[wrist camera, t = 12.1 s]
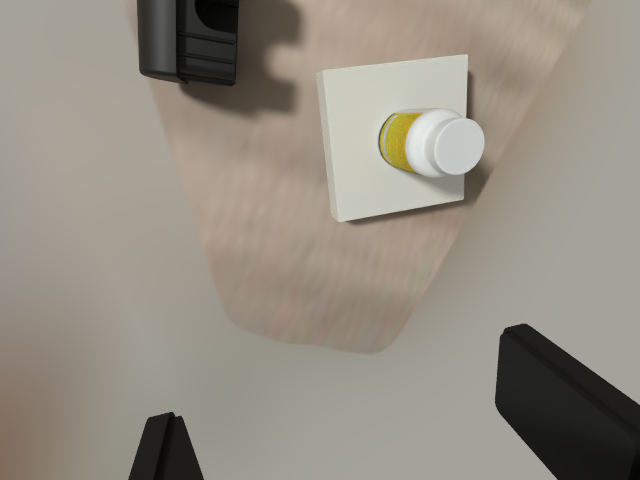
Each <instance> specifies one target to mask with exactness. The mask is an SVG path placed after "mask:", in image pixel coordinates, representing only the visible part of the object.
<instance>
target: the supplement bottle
mask: <svg viewBox="0 0 640 480" xmlns="http://www.w3.org/2000/svg"><path fill="white" fill-rule="evenodd" d="M484 144H485V141H484V134H483V131H482V129H481V127H480V126H479V125H478V124H477V123H476V122H475V121H473V120H471V119H468V118H463V117H462V116H461V115H460V114H459V113H457V112H455V111H453V110H451V109H446V108H429V109H407V110H400V111H396V112H394V113H392V114H391V115H389V116H388V117H387V118H386V119H385V120H384V121H383V123H382V124H381V126H380V128H379V131H378V134H377V148H378V151H379V154H380V156H381V157H382V159H383V160H384V161H385V162H386V163H388V164H389V165H391V166H393V167H396V168H399V169H402V170H405V171H408V172H412V173H415V174H418V175H421V176H424V177H429V178H440V177H444V176H447V175H449V174H450V175H460V174H464V173H466V172H468V171H470V170H471V169H472V168H473V167H474V166H475V165H476V164H477V163H478V162H479V160H480V158H481V156H482V154H483V150H484Z"/></svg>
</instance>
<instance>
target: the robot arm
mask: <svg viewBox="0 0 640 480" xmlns="http://www.w3.org/2000/svg"><path fill="white" fill-rule="evenodd" d="M495 404H496V407H497V410H498V411H499V413H500V414H501V415H502V417H503V418H504V419H505V420H506V421H507V422H508V424H509V425H510V426H511V427H512V428H513V429H514V430H515V432H516V433H517V434H518V435H519V436H520V437H521V438H522V440H523V441H524V442H525V443H526V444H527V445H528V446H529V448H530V449H531V450H532V451H533V452H534V453H535V454H536V455H537V457H538V458H539V459H540V460H541V461H542V462H543V464H545V466H546V467H547V468H548V469H549V470H550V471H551V473H552V474H553V475H554V476H555V477H556V478H557V480H640V405H639V404H637V403H636V402H635V401H633V400H632V399H631V398H629V397H628V396H626V395H625V394H624V393H622V392H621V391H620V390H618V389H617V388H615V387H614V386H613V385H611V384H610V383H608V382H607V381H606V380H604V379H603V378H601V377H600V376H599V375H597V374H596V373H595V372H593V371H592V370H590V369H589V368H588V367H586V366H585V365H583V364H582V363H581V362H579V361H578V360H576V359H575V358H574V357H572V356H571V355H570V354H568V353H567V352H565V351H564V350H563V349H561V348H560V347H558V346H557V345H556V344H554V343H553V342H551V341H550V340H549V339H547V338H546V337H545V336H543V335H542V334H540V333H539V332H538V331H536V330H535V329H533V328H532V327H531V326H529V325H527V324H520V325H515V326H511V327H508V328H505V330H504V332H503V334H502V335H501V336H500V344H499V356H498V369H497V382H496V395H495ZM128 480H204V479H203V475H202V473H201V470H200V467H199V464H198V461H197V458H196V455H195V452H194V449H193V446H192V444H191V441H190V438H189V435H188V432H187V429H186V426H185V423H184V420H183V418H182V416H178V417H175V415H174V413H173V412H169V413H165V414H161V415H157V416H153V417H149V418H148V419H147V422H146V424H145V428H144V431H143V434H142V438H141V440H140V444H139V447H138V450H137V454H136V456H135V460H134V463H133V467H132V469H131V473H130V476H129V479H128Z"/></svg>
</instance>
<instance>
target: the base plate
mask: <svg viewBox="0 0 640 480" xmlns="http://www.w3.org/2000/svg"><path fill="white" fill-rule="evenodd" d="M467 68H468V54H465V55H456V56H447V57H438V58H429V59H420V60H411V61H402V62H393V63H384V64H375V65H366V66H357V67H348V68H338V69H329V70H322V71H320V72H319V73H317V74H316V81H317V90H318V98H319V107H320V116H321V125H322V134H323V143H324V152H325V161H326V170H327V179H328V188H329V197H330V206H331V215H332V216H333V217H334V218H335V219H336V220H337V221H338V222H343V221H348V220H354V219H359V218H365V217H370V216H376V215H381V214H387V213H392V212H398V211H403V210H409V209H414V208H420V207H425V206H431V205H436V204H442V203H447V202H453V201H458V200H464V174H465V173H464V174H460V175H450V174H449V175H447V176H444V177H440V178H429V177H424V176H421V175H418V174H415V173H412V172H408V171H405V170H402V169H399V168H396V167H393V166H391V165H389V164H388V163H386V162H385V161H384V160H383V159H382V157H381V156H380V154H379V151H378V148H377V134H378V131H379V128H380V126H381V124H382V123H383V121H384V120H385V119H386V118H387V117H388V116H389V115H391V114H392V113H394V112H396V111H400V110H407V109H429V108H446V109H451V110H453V111H455V112H457V113H459V114H460V115H461V116H462V117H463V118H466V103H467Z"/></svg>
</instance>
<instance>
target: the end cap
mask: <svg viewBox="0 0 640 480" xmlns="http://www.w3.org/2000/svg"><path fill="white" fill-rule="evenodd" d="M238 7H239V0H137V17H138V45H139V70H140V73H141V74H142V75H144V76H147V77H150V78H155V79H159V80H164V81H170V82H175V83H182V84H188V80H192V81H199V82H205V83H212V84H219V85H226V86H233V85H234V84H235V79H236V55H237V31H238Z"/></svg>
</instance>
